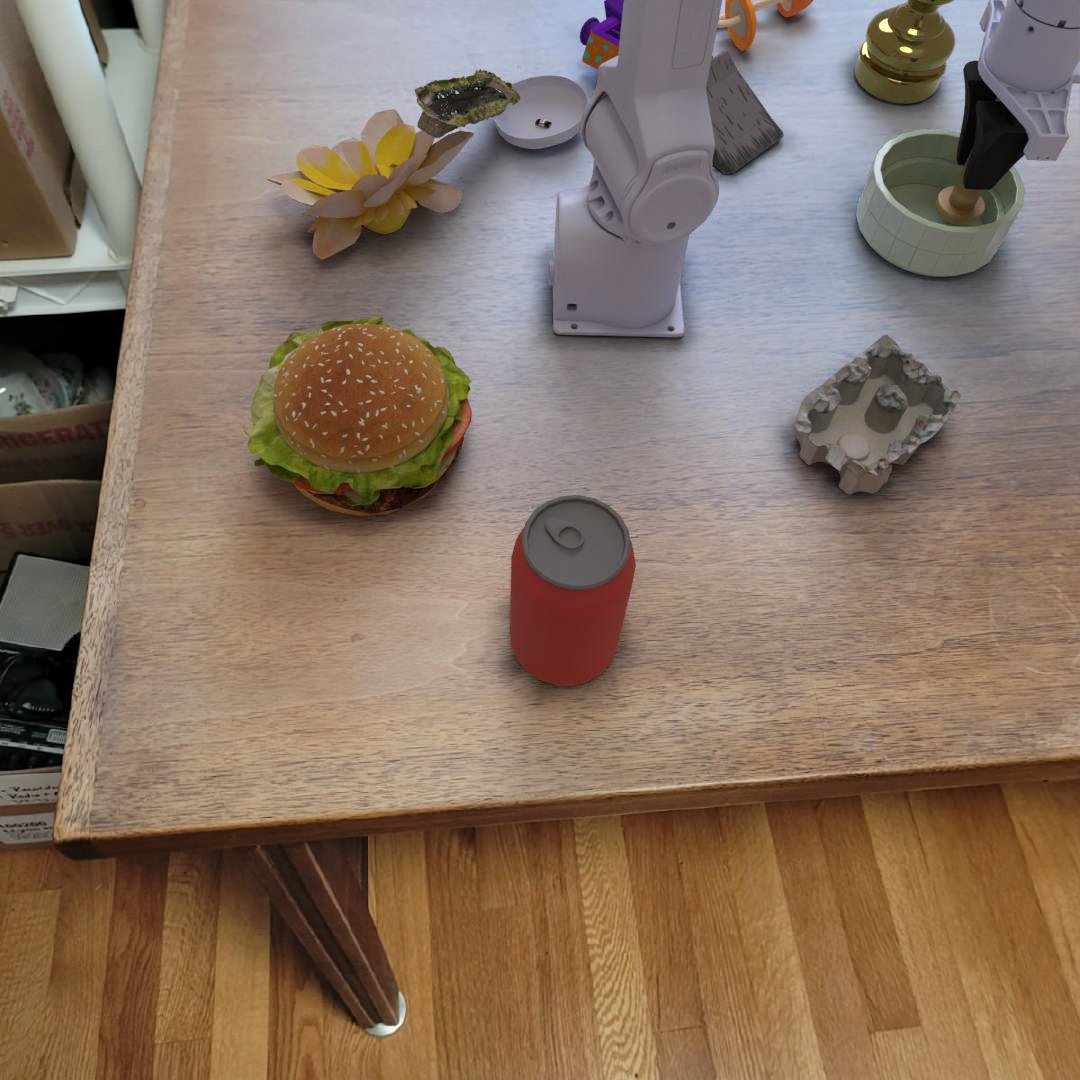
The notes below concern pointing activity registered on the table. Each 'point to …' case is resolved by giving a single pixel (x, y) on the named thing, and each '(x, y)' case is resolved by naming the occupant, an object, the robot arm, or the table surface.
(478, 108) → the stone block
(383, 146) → the decorative flower
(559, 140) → the shallow white dish
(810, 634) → the table surface
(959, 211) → the wooden pestle
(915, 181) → the bowl
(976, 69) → the robot arm
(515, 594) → the beer can
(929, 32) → the brass candlestick
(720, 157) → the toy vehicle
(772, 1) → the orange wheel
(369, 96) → the table surface
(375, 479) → the food
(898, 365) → the egg carton
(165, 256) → the table surface
